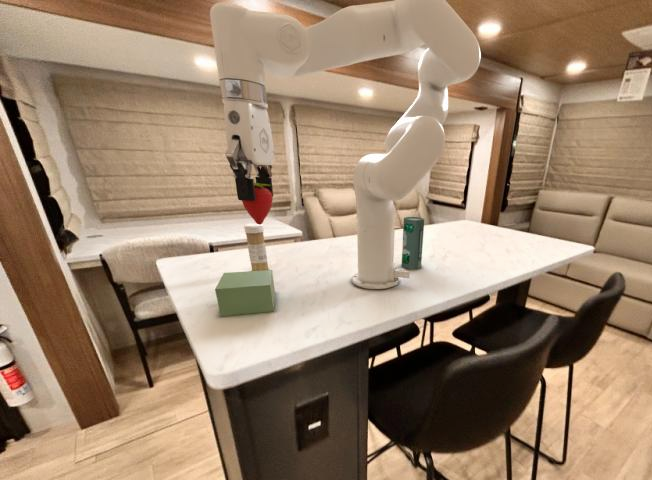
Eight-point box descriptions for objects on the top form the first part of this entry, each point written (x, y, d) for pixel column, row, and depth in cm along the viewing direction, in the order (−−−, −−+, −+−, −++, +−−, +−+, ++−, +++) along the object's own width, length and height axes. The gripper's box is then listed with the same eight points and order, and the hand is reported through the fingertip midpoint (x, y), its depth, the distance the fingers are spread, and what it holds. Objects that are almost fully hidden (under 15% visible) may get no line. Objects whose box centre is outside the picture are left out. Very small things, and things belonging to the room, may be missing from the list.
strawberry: (276, 221, 69) (271, 173, 65) (274, 228, 62) (268, 174, 58) (247, 221, 67) (240, 171, 63) (242, 227, 61) (233, 173, 57)
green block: (275, 293, 74) (272, 269, 72) (273, 311, 65) (270, 285, 63) (228, 297, 71) (223, 272, 69) (220, 316, 62) (214, 289, 60)
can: (402, 263, 101) (404, 216, 95) (421, 264, 101) (424, 217, 95) (400, 268, 96) (403, 219, 90) (420, 270, 95) (424, 220, 89)
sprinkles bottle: (266, 268, 90) (259, 222, 85) (271, 273, 87) (265, 225, 82) (249, 271, 88) (241, 223, 82) (254, 276, 84) (246, 226, 79)
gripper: (240, 86, 48) (255, 204, 55) (283, 106, 64) (290, 196, 71) (192, 83, 48) (213, 201, 55) (247, 104, 64) (258, 194, 71)
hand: (256, 198), depth 63 cm, fingers closed on strawberry, 7 cm apart
